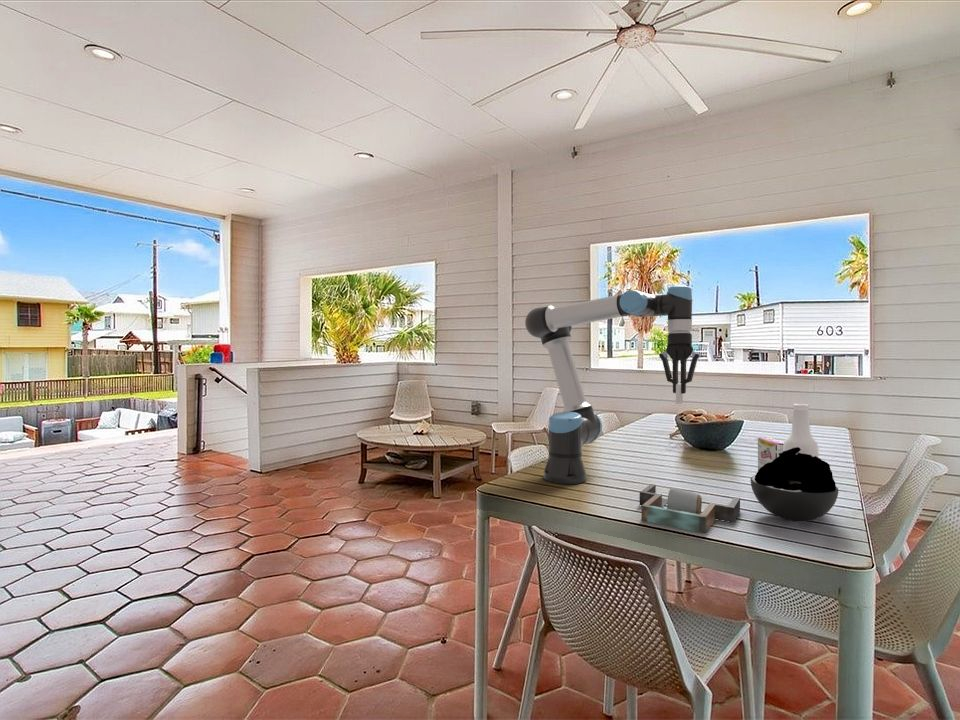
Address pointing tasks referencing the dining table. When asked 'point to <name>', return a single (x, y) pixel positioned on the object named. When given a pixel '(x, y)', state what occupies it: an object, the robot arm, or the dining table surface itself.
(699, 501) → the grey cylinder
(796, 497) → the bowl of black rocks
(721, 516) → the box
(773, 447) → the candy bar box
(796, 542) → the dining table surface
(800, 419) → the alcohol
